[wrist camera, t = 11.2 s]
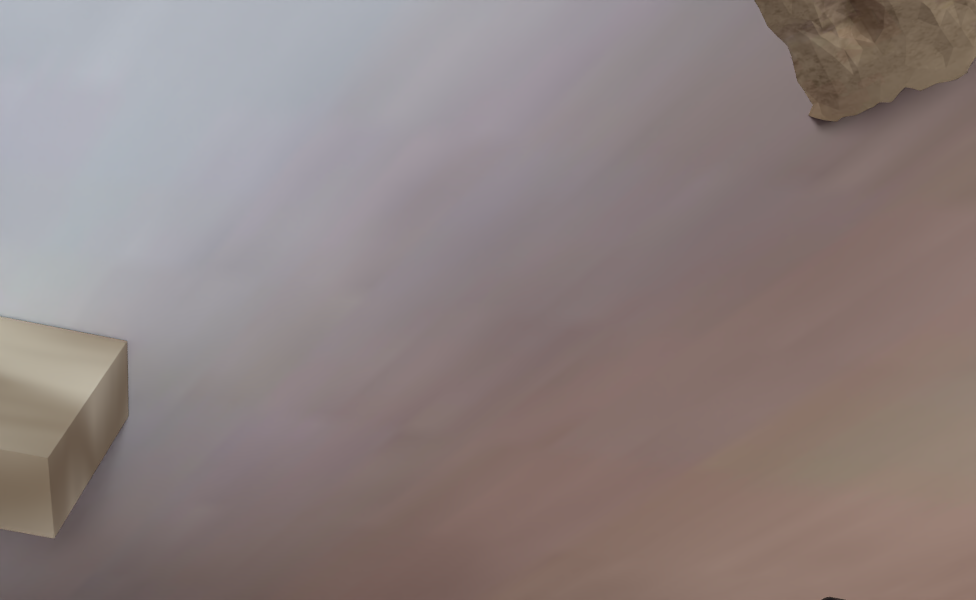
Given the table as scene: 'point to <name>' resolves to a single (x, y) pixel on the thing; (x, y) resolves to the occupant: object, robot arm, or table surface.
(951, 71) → the clay tablet
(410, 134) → the table surface
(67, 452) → the maple rail
